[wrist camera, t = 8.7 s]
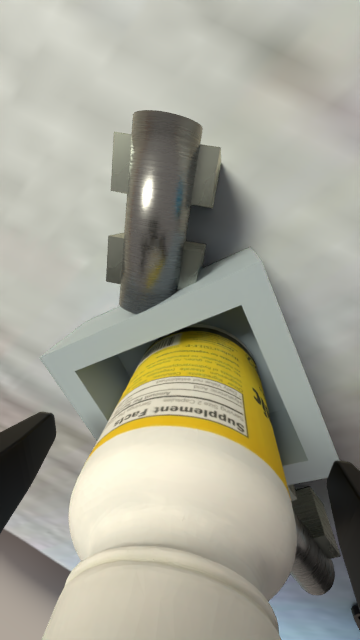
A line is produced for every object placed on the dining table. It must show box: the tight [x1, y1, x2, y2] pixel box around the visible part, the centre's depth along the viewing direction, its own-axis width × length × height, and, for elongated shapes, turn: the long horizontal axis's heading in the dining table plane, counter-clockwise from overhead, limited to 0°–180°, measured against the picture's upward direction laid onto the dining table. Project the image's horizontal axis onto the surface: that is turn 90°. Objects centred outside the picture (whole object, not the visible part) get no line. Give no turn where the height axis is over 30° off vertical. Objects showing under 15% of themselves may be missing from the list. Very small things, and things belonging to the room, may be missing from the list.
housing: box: [39, 247, 339, 485], centre depth 12 cm, size 8×8×4 cm
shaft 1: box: [106, 110, 221, 314], centre depth 10 cm, size 6×3×4 cm, turn 171°
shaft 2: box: [287, 484, 341, 595], centre depth 14 cm, size 7×3×4 cm, turn 36°
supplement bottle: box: [42, 324, 297, 640], centre depth 8 cm, size 5×5×10 cm
